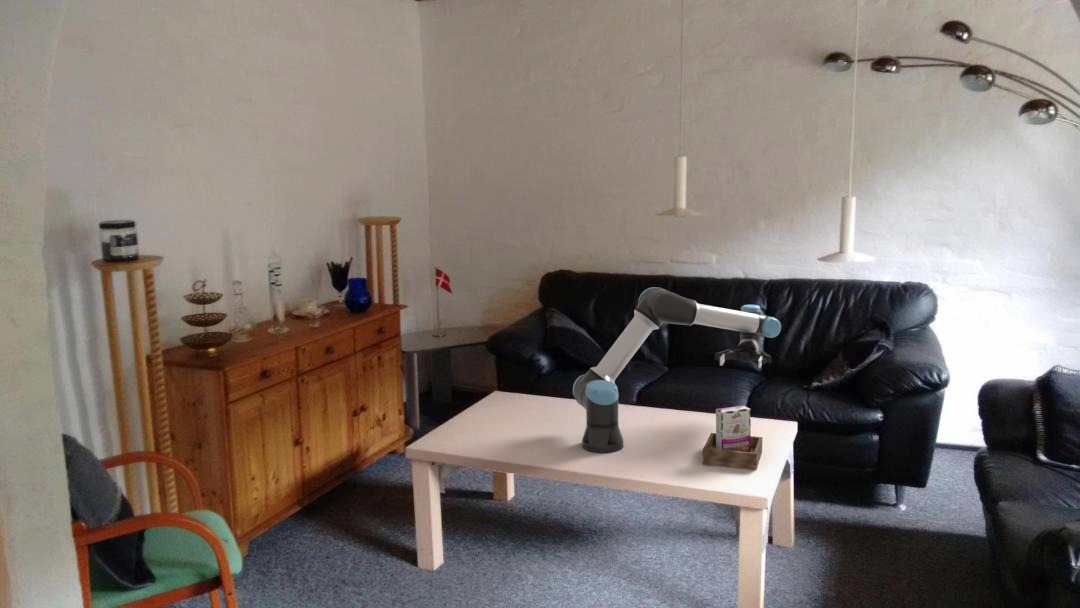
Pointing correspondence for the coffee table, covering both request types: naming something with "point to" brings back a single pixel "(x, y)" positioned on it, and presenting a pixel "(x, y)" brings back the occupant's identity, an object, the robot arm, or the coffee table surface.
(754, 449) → the walnut holder
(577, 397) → the robot arm
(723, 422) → the candy bar box
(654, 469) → the coffee table surface
